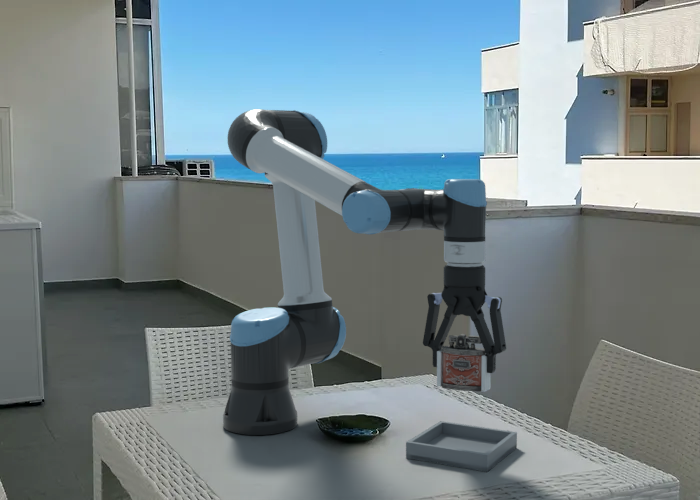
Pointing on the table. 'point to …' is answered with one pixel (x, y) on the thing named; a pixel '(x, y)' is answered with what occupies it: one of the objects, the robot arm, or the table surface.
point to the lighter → (462, 363)
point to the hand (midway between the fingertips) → (463, 387)
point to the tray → (462, 446)
